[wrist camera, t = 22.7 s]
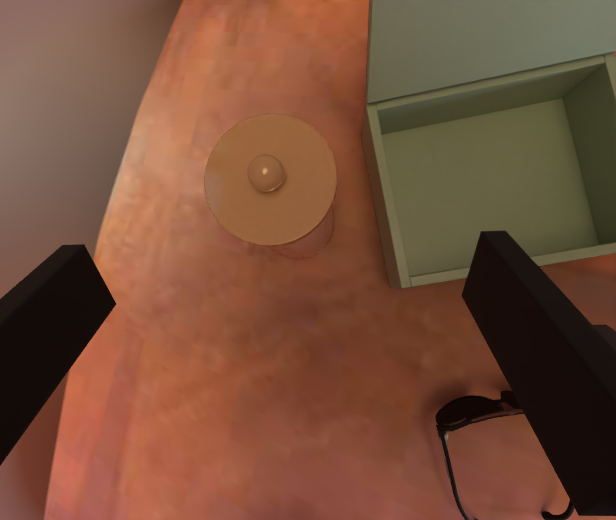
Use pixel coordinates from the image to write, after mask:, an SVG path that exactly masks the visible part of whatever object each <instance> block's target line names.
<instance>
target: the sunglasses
mask: <svg viewBox="0 0 616 520" xmlns="http://www.w3.org/2000/svg"><path fill="white" fill-rule="evenodd" d="M500 393H501V399H499V400H492V399H489V398H486V397H482V396H474V395H470V396H464V397H460V398H457V399H455V400H453V401H451V402H449V403H448V404H446V405H445V406H443V407H442V408H441V409H440V410H439V411H438V412H437V414H436V422H437V424H438V425H436V427H437V430H438V435H439V438H440V443H441V447H442V451H443V456H444V460H445V465H446V469H447V472H448V476H449V479H450V482H451V486H452V490H453V494H454V497H455V501H456V503H457V506H458V508H459V510H460V512H461V514H462V516H463V517H464V519H465V520H469V518H468V517H467V515H466V514H465V512H464V510H463V508H462V506H461V504H460V501H459V498H458V494H457V489H456V485H455V480H454V476H453V471H452V467H451V462H450V458H449V454H448V449H447V447H448V446H447V439H448V437H449V435H448V433H447V431H454V430H457V429H459V428H462V427H464V426H467V425H469V424H472V423H477V422H480V421H484V420H487V419H491V418H496V417H502V416H511V415H517V414H524V412H523V410H522V408H521V406H520V404H519V402H518V400H517V399H516V397H515V395H514V393H513V391H501V392H500ZM498 405H499V406H500V407H501V408H502V409H501V408H500V407H499V406H498ZM574 508H575V507H574V506H573V504H572V502H571V500H570V502H569V505H568V508H567V510H566V511H565V512H564V513H563V514H561V515H552V514H551V513H550V512H547V511H545V512H542V517H543V518H544V519H545V520H565V519H568V518H569V517H570V516H571V515H572V513H573V511H574ZM476 520H477V519H476Z"/></svg>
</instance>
